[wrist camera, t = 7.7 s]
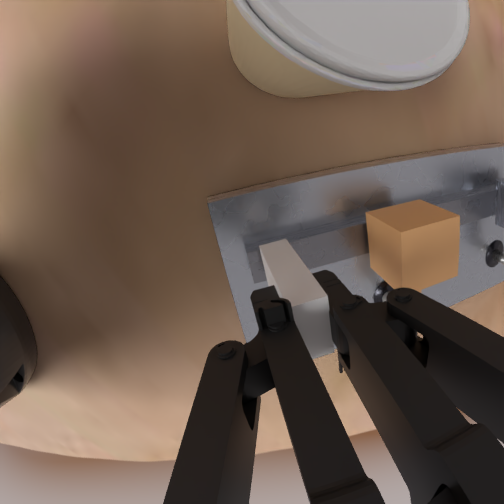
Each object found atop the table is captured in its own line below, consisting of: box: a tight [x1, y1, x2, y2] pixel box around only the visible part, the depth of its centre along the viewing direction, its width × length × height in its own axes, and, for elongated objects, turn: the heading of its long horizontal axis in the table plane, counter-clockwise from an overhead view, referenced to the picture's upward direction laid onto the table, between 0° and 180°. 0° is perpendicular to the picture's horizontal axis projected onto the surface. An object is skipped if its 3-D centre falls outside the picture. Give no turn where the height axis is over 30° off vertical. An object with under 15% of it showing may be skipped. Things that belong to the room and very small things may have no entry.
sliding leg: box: [365, 199, 460, 302], centre depth 18 cm, size 4×8×6 cm, turn 13°
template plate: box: [207, 143, 504, 349], centre depth 20 cm, size 26×13×8 cm, turn 103°
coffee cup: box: [226, 0, 470, 98], centre depth 12 cm, size 9×9×12 cm
